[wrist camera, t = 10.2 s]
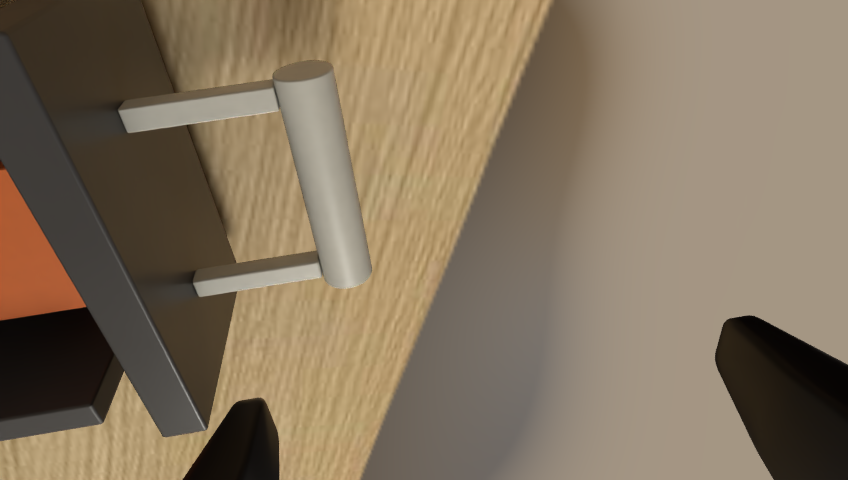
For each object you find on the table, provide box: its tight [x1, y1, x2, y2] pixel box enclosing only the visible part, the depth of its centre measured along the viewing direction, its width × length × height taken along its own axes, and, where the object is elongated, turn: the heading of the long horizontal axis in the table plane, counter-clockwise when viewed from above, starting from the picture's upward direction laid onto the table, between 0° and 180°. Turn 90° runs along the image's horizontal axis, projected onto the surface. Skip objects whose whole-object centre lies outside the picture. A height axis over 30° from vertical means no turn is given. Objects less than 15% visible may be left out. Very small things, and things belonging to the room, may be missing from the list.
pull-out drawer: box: [0, 0, 372, 441], centre depth 15 cm, size 17×10×7 cm, turn 96°
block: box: [0, 160, 86, 321], centre depth 15 cm, size 4×4×4 cm
